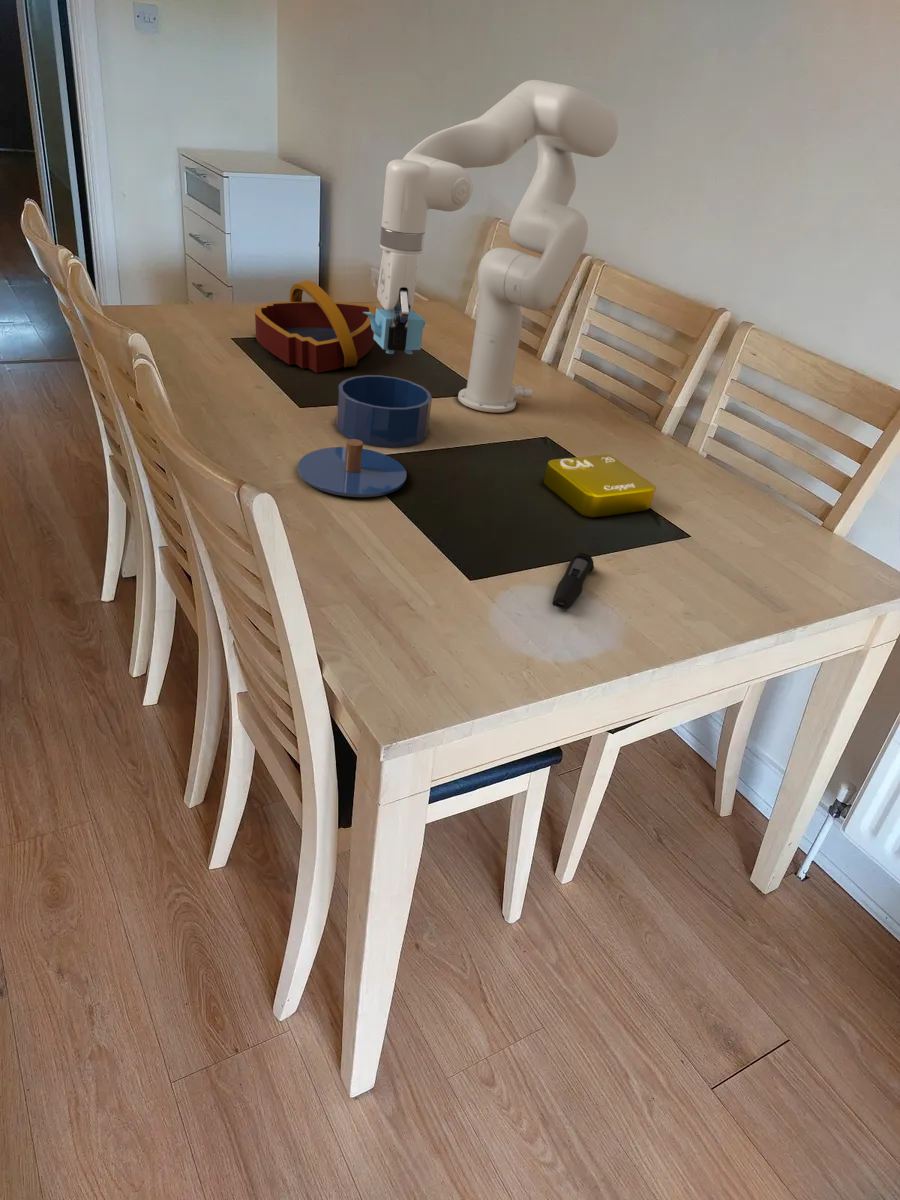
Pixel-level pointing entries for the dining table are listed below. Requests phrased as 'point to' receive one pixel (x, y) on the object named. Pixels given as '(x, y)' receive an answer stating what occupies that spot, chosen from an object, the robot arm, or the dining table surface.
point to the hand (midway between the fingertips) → (392, 342)
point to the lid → (352, 471)
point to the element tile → (598, 485)
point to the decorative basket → (315, 329)
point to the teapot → (383, 323)
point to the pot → (383, 410)
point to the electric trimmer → (573, 580)
